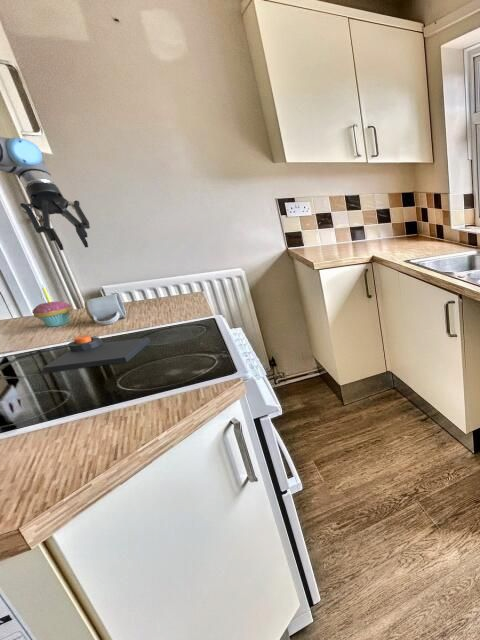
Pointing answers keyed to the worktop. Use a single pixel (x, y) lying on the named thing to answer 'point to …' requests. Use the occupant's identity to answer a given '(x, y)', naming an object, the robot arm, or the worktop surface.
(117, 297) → the ceramic mug
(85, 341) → the button
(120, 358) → the scale
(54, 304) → the cupcake
